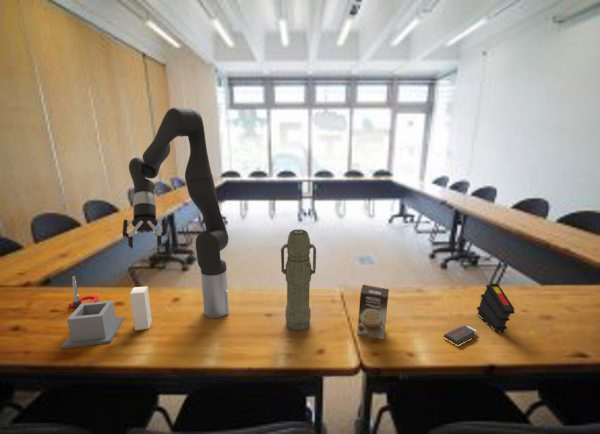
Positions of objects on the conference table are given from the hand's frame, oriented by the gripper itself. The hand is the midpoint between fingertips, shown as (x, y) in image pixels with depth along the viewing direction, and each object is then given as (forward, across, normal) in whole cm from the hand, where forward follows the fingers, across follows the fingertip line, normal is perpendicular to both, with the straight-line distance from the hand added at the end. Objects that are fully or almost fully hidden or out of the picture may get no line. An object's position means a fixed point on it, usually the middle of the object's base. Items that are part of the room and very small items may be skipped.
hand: (145, 247), depth 111 cm
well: (+25, -15, +14) cm, 33 cm away
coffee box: (+43, +69, -26) cm, 85 cm away
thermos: (+36, +49, -12) cm, 61 cm away
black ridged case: (+49, +111, -42) cm, 128 cm away
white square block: (+26, -1, +10) cm, 28 cm away
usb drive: (+50, +95, -40) cm, 115 cm away
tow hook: (+11, -21, +35) cm, 42 cm away
